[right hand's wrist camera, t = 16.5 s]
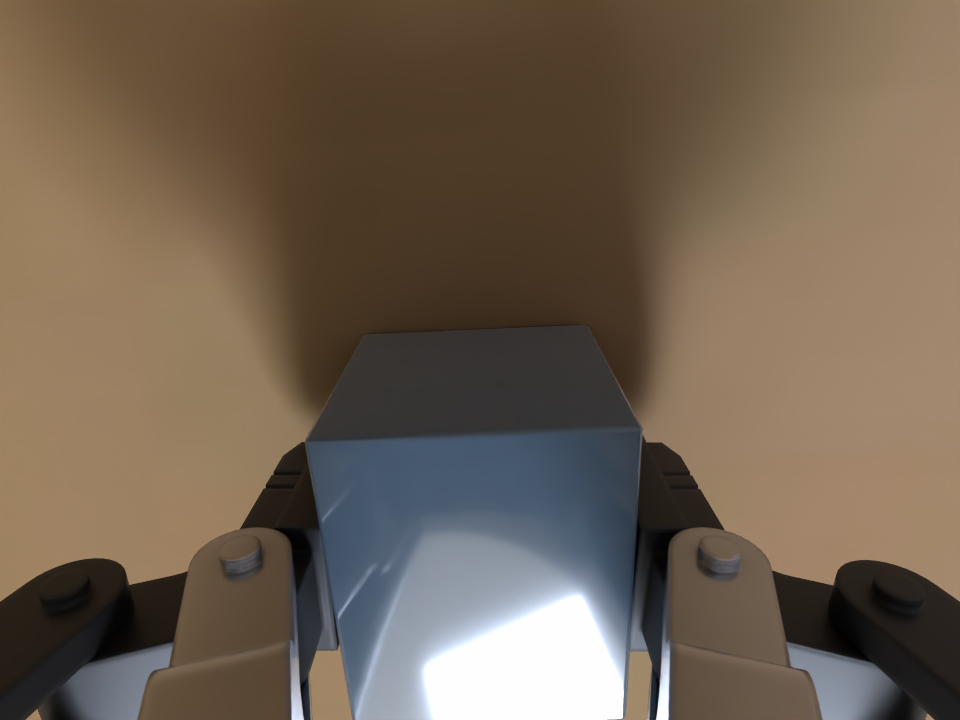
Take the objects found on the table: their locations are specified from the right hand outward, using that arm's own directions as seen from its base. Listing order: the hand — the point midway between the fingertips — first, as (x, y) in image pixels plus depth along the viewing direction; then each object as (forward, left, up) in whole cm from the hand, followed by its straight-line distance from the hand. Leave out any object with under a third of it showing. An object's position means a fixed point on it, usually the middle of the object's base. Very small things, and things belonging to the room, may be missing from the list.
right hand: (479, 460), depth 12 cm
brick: (0, 0, 0) cm, 0 cm away
